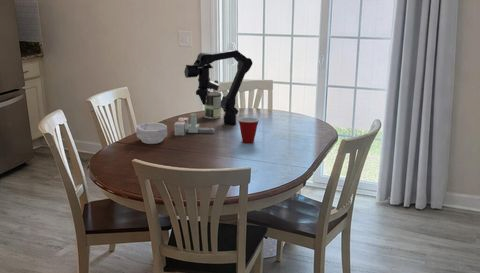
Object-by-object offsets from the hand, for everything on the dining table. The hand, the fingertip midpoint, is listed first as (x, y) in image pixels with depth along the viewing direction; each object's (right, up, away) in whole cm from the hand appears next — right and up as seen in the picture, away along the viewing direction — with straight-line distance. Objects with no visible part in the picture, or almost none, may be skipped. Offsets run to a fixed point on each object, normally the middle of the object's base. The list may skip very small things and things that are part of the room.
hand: (204, 104), depth 271 cm
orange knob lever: (-11, -14, -7) cm, 20 cm away
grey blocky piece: (-11, -15, -7) cm, 20 cm away
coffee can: (+3, -6, +26) cm, 26 cm away
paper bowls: (-24, -20, -25) cm, 40 cm away
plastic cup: (+24, -20, -23) cm, 39 cm away
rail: (-1, -15, -8) cm, 17 cm away
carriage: (-5, -15, -8) cm, 18 cm away
